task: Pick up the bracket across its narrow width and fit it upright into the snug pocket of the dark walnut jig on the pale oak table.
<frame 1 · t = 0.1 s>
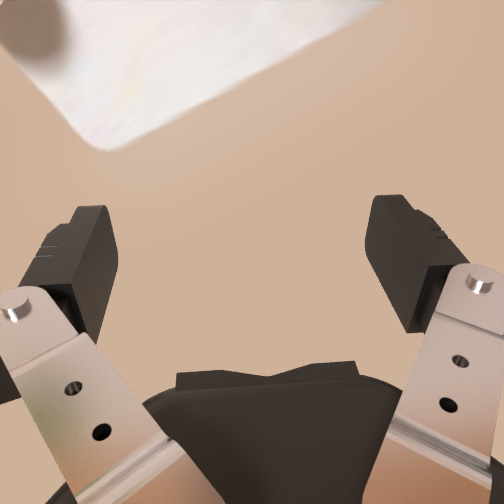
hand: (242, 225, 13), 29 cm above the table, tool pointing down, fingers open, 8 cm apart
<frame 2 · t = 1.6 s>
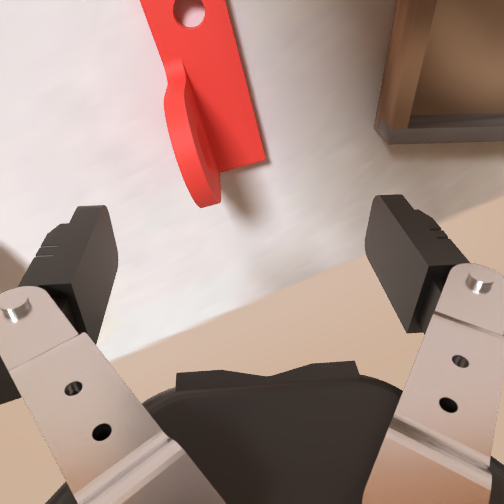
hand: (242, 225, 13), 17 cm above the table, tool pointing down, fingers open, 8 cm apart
bracket: (208, 77, 27), on the table
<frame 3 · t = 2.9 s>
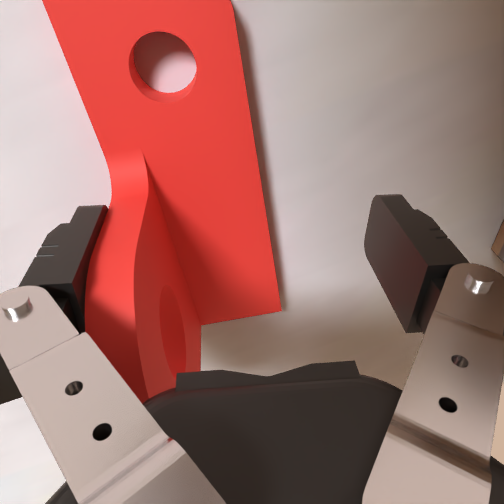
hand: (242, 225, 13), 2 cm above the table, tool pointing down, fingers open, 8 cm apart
bracket: (193, 176, 15), on the table, touching gripper
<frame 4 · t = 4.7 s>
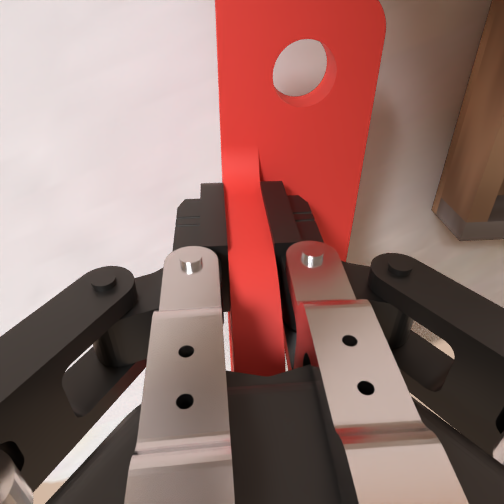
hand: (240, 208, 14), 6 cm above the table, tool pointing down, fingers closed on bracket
bracket: (285, 180, 15), point 5 cm above the table, touching gripper
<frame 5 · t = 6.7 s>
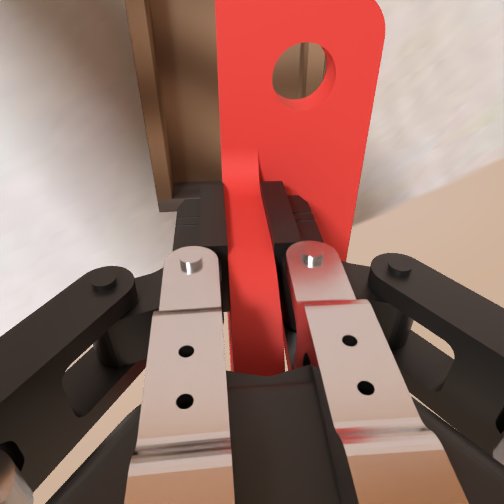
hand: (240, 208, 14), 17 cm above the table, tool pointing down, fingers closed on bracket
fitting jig: (229, 72, 27), on the table
bracket: (284, 182, 15), point 15 cm above the table, touching gripper
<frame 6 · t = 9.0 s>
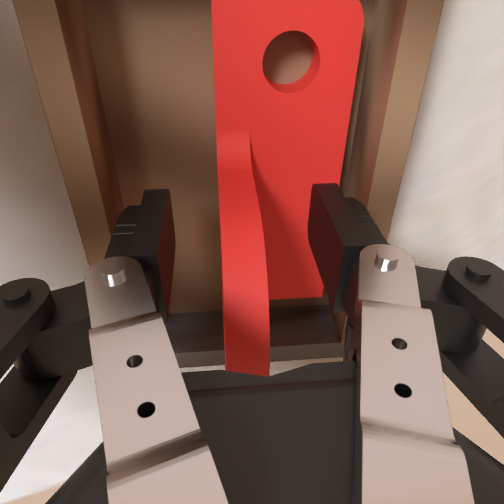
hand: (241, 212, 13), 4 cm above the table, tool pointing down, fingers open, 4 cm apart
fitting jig: (234, 163, 16), on the table
bracket: (275, 162, 16), resting on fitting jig
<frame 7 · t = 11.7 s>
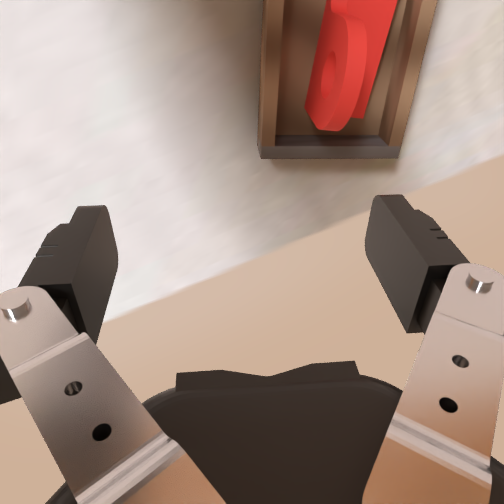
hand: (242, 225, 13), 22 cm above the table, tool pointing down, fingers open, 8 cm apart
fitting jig: (337, 31, 30), on the table
bracket: (351, 25, 30), resting on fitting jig
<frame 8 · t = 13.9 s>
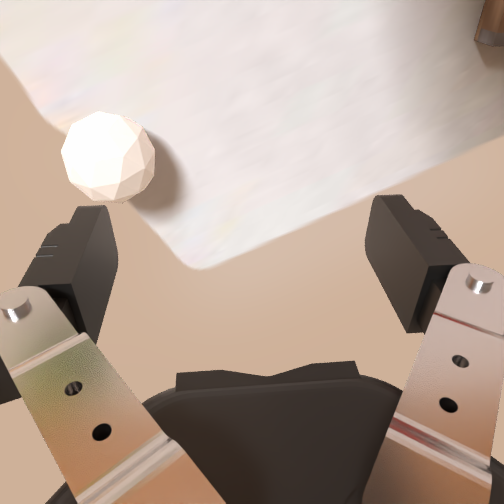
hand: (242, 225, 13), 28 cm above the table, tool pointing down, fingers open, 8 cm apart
geometric ball: (118, 141, 39), on the table
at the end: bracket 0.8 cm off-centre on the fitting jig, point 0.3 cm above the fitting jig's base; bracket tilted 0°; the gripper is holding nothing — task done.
